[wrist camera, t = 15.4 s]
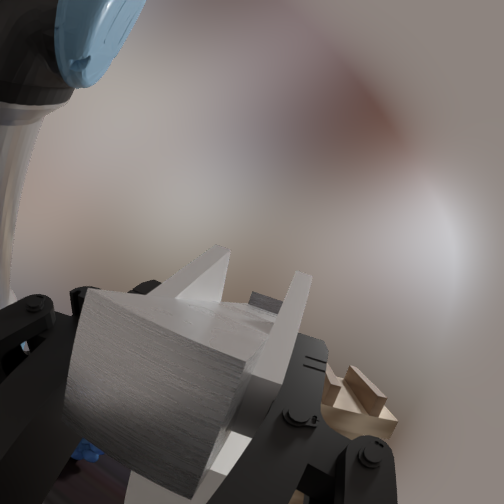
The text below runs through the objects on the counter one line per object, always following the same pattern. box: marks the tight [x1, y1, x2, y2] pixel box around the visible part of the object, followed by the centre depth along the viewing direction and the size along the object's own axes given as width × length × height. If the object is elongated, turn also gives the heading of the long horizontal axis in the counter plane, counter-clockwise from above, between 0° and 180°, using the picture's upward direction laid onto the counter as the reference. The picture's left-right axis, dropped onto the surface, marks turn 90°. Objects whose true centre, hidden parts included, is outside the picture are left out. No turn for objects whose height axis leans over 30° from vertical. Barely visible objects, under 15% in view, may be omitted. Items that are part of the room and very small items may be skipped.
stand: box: [289, 362, 398, 504], centre depth 26 cm, size 10×14×32 cm
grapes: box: [71, 438, 105, 462], centre depth 32 cm, size 12×7×12 cm, turn 87°
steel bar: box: [62, 288, 283, 500], centre depth 16 cm, size 3×24×4 cm, turn 172°
